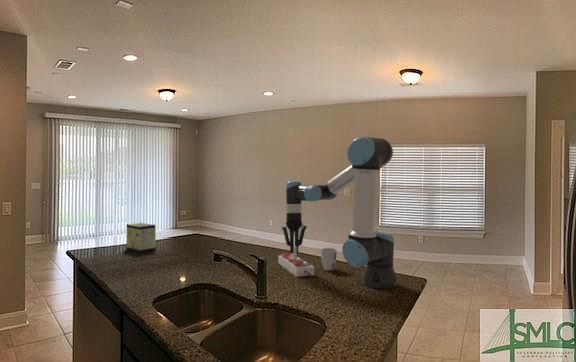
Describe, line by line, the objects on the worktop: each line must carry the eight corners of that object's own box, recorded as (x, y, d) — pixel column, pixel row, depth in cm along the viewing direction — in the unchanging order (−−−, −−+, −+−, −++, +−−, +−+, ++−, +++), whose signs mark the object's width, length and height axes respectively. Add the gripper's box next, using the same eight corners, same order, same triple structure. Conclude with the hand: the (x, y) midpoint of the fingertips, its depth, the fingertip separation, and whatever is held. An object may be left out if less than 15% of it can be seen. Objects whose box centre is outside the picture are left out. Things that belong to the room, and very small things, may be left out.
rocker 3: (303, 263, 192) (303, 260, 192) (296, 264, 191) (296, 261, 191) (299, 263, 197) (299, 260, 197) (292, 264, 196) (292, 261, 196)
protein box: (141, 246, 254) (140, 222, 254) (156, 249, 245) (156, 224, 245) (126, 249, 246) (126, 224, 245) (141, 252, 237) (141, 226, 236)
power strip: (319, 278, 186) (319, 269, 186) (301, 280, 183) (301, 270, 183) (293, 261, 218) (294, 253, 218) (278, 262, 215) (278, 255, 215)
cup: (335, 271, 198) (336, 251, 198) (319, 270, 200) (319, 251, 200) (337, 267, 206) (337, 248, 206) (321, 266, 208) (321, 247, 208)
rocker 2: (296, 261, 201) (296, 258, 201) (289, 261, 200) (289, 258, 200) (293, 257, 206) (293, 255, 206) (286, 258, 205) (286, 255, 204)
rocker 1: (290, 255, 209) (290, 253, 209) (284, 256, 208) (284, 253, 208) (287, 255, 214) (287, 253, 214) (281, 256, 213) (280, 253, 213)
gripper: (303, 211, 205) (303, 257, 204) (279, 212, 200) (279, 259, 200) (308, 212, 197) (309, 259, 197) (284, 213, 193) (284, 261, 193)
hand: (294, 259), depth 199 cm, fingers closed
